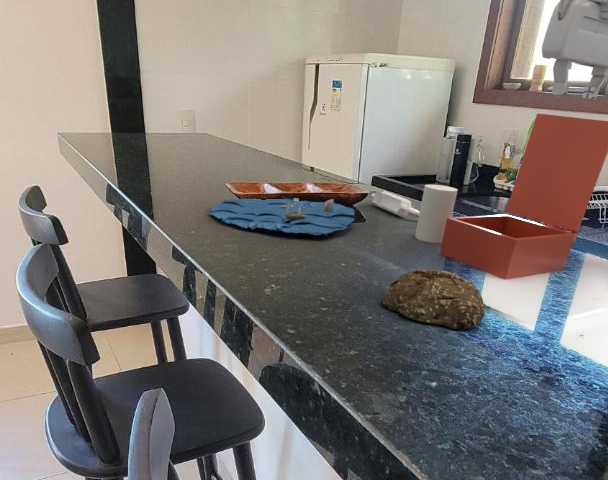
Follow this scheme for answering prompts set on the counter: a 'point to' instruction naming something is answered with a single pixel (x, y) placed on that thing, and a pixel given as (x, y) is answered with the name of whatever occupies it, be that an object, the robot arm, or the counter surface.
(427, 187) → the white cylinder
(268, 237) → the counter surface
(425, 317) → the bread roll
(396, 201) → the white stepped rod
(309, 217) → the sea diorama
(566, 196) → the lid
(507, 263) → the open terracotta box
